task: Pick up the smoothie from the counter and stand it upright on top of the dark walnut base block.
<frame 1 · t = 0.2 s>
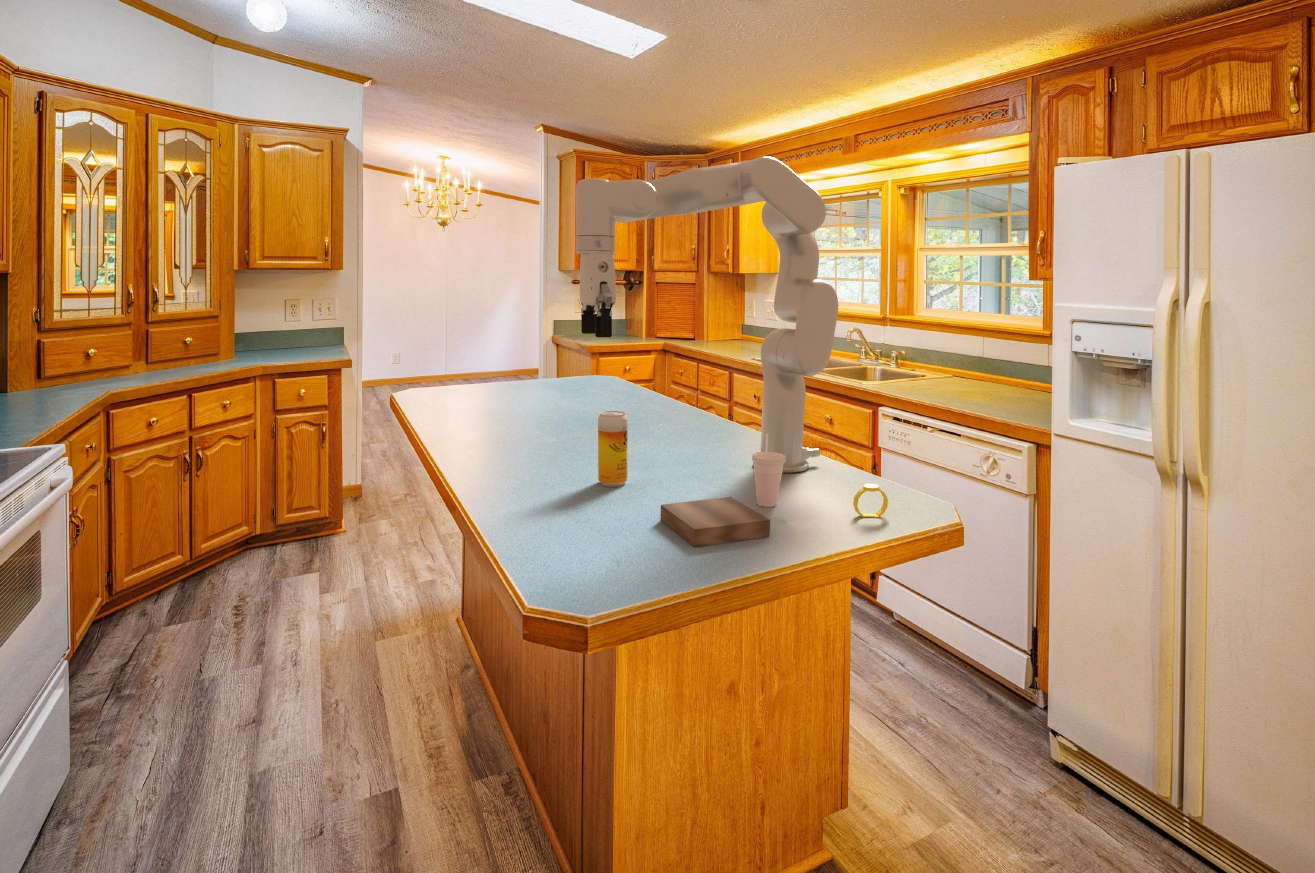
hand: (596, 335, 145), 31 cm above the table, tool pointing down, fingers open, 9 cm apart
beer can: (612, 484, 153), on the table
watch: (869, 517, 134), on the table
walnut base: (713, 528, 126), on the table
smoothie: (766, 505, 140), on the table
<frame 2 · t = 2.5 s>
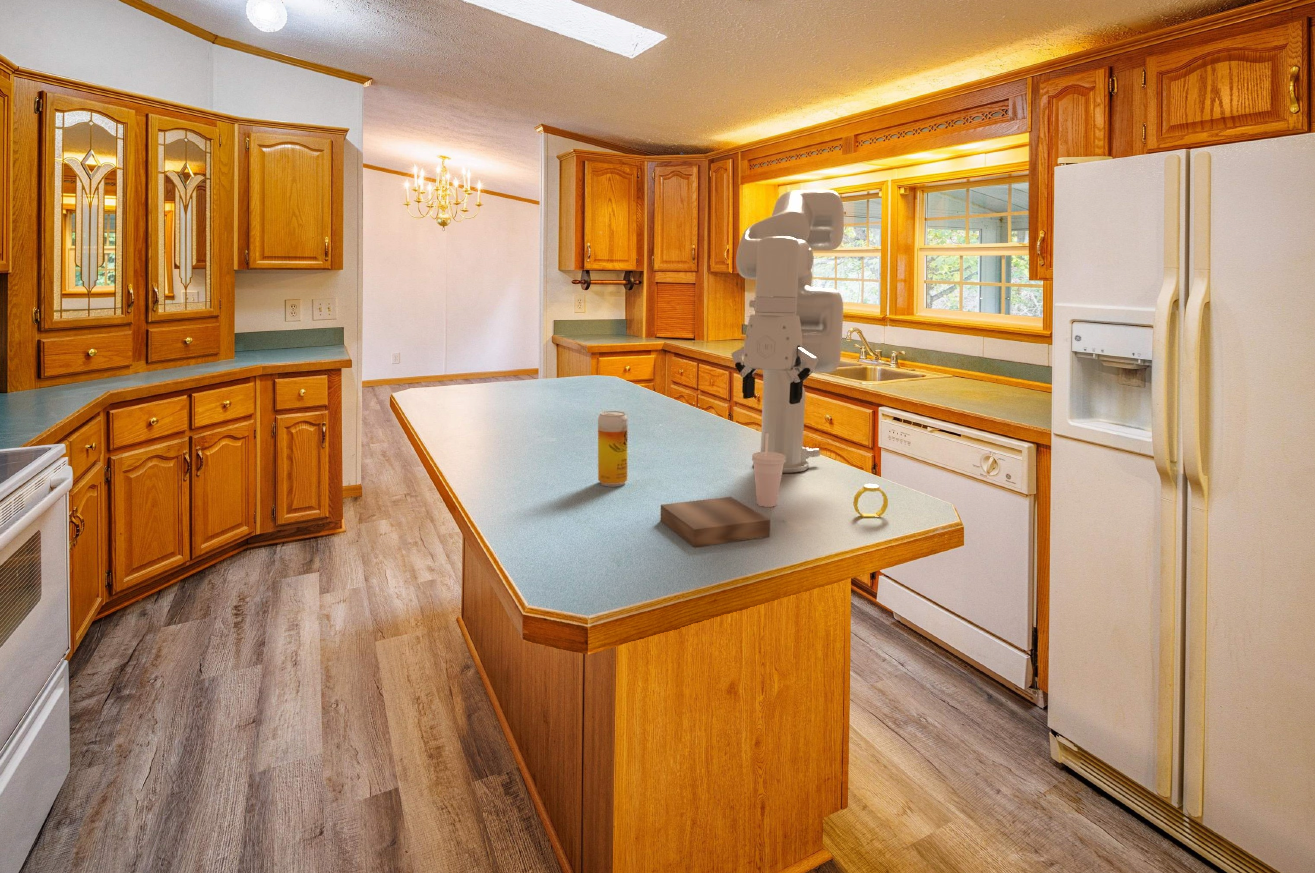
hand: (771, 400, 135), 20 cm above the table, tool pointing down, fingers open, 9 cm apart
nothing on the table moved.
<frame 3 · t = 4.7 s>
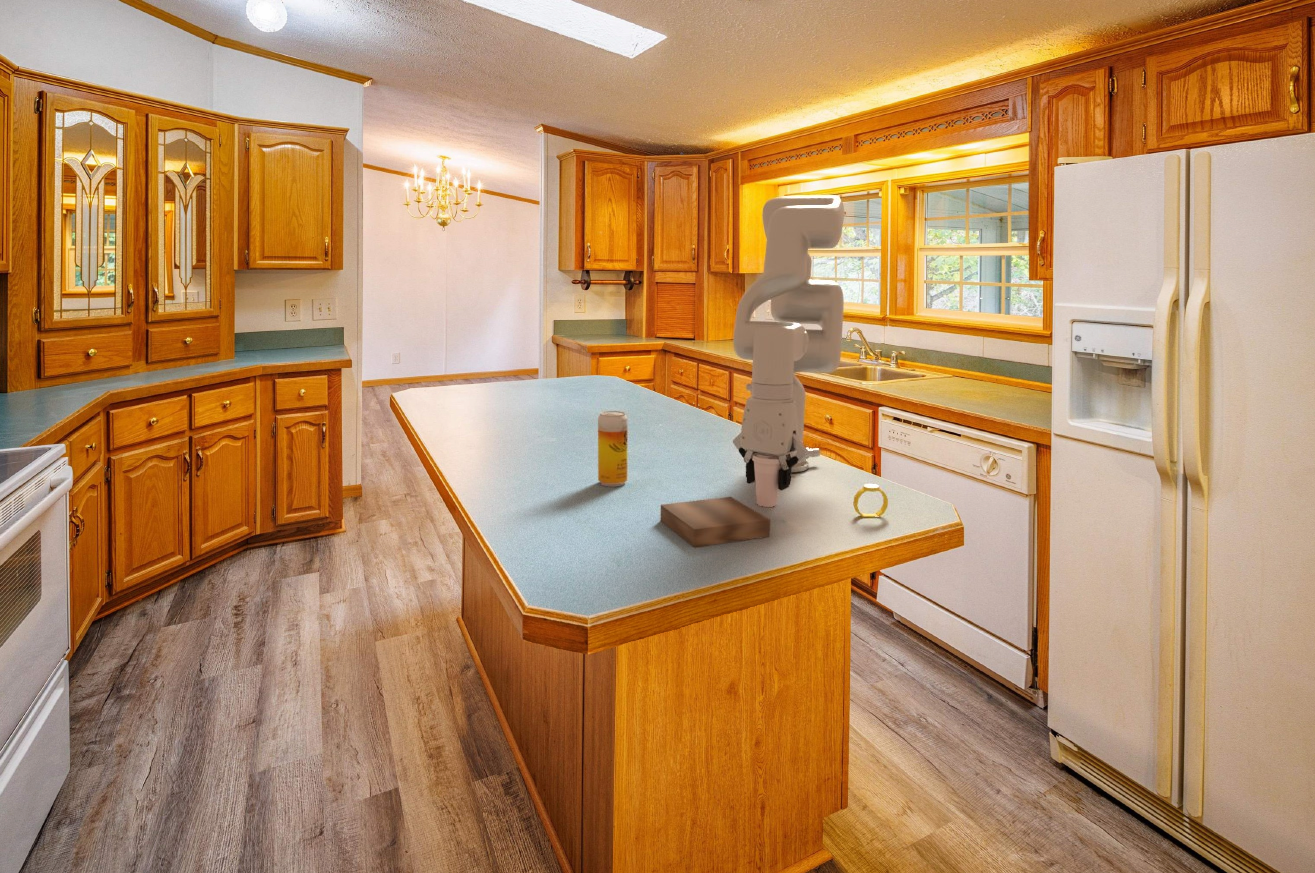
hand: (767, 484, 139), 4 cm above the table, tool pointing down, fingers closed on smoothie, 6 cm apart
smoothie: (766, 505, 140), on the table, touching gripper
everything else where it was.
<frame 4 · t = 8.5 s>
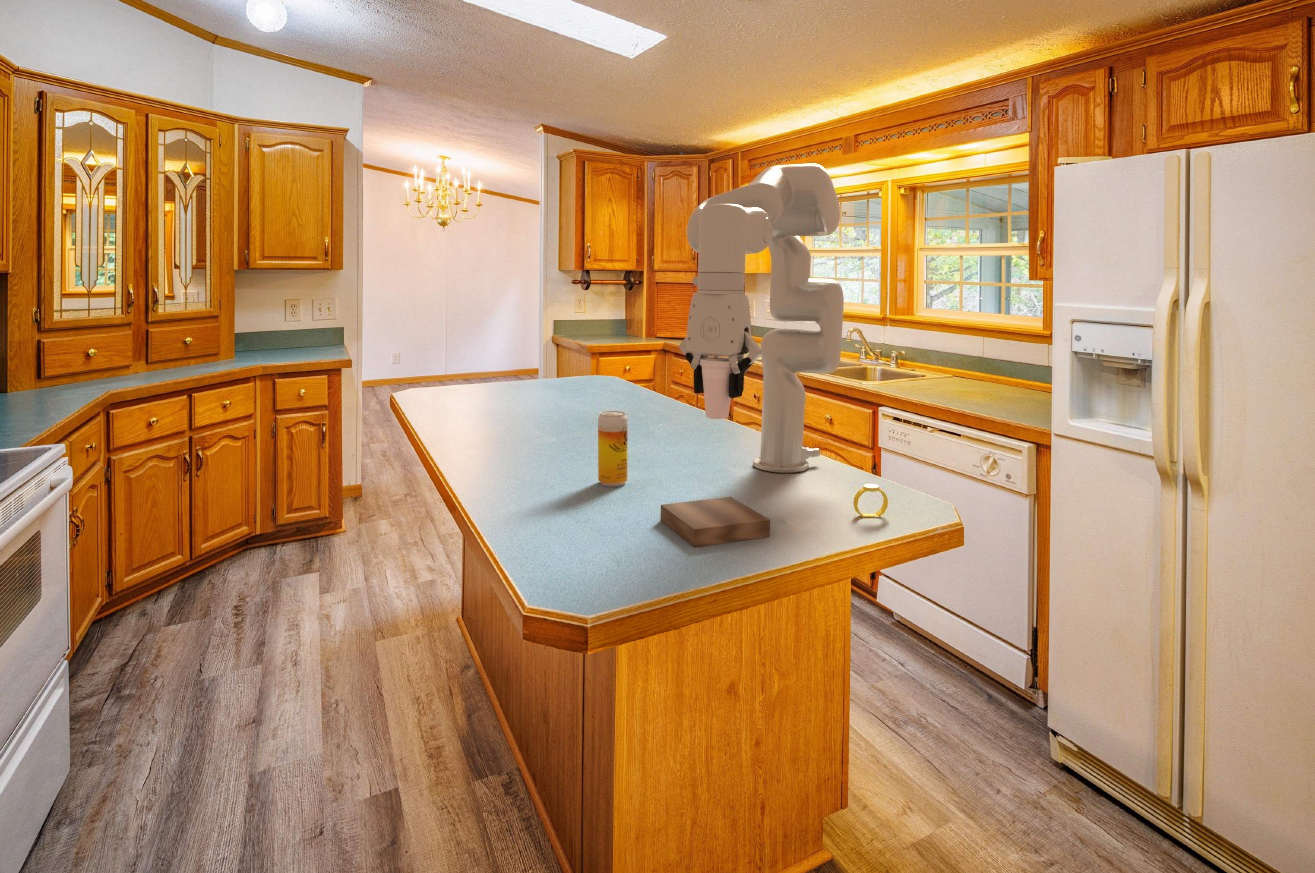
hand: (717, 393, 121), 24 cm above the table, tool pointing down, fingers closed on smoothie, 6 cm apart
smoothie: (717, 418, 122), point 19 cm above the table, touching gripper
everything else where it was.
when the fingers open (8 cm above the table, at t = 12.2 s): smoothie drops 1 cm, resting on walnut base.
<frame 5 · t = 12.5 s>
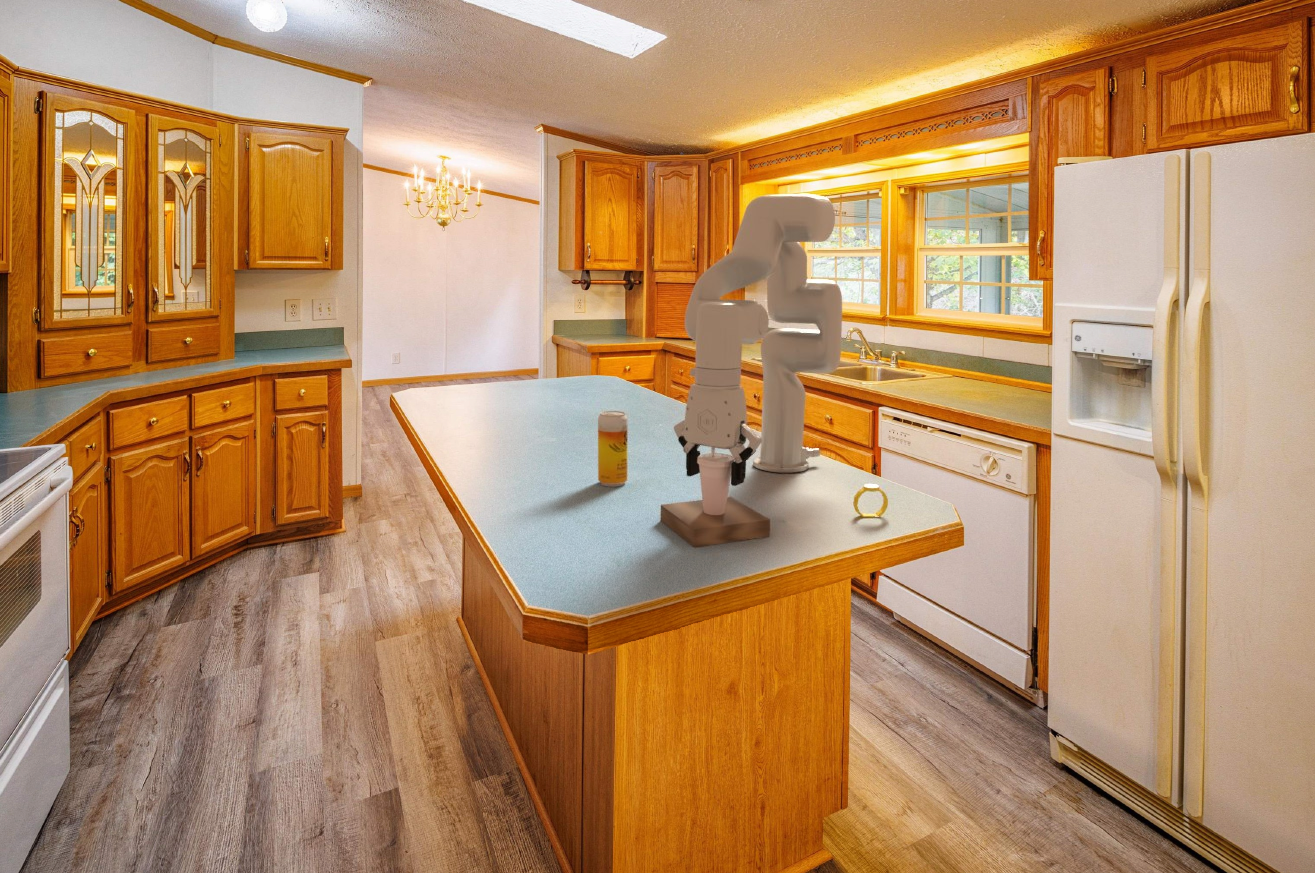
hand: (714, 478, 124), 9 cm above the table, tool pointing down, fingers open, 8 cm apart
smoothie: (714, 512, 125), point 3 cm above the table, touching walnut base
everything else where it was.
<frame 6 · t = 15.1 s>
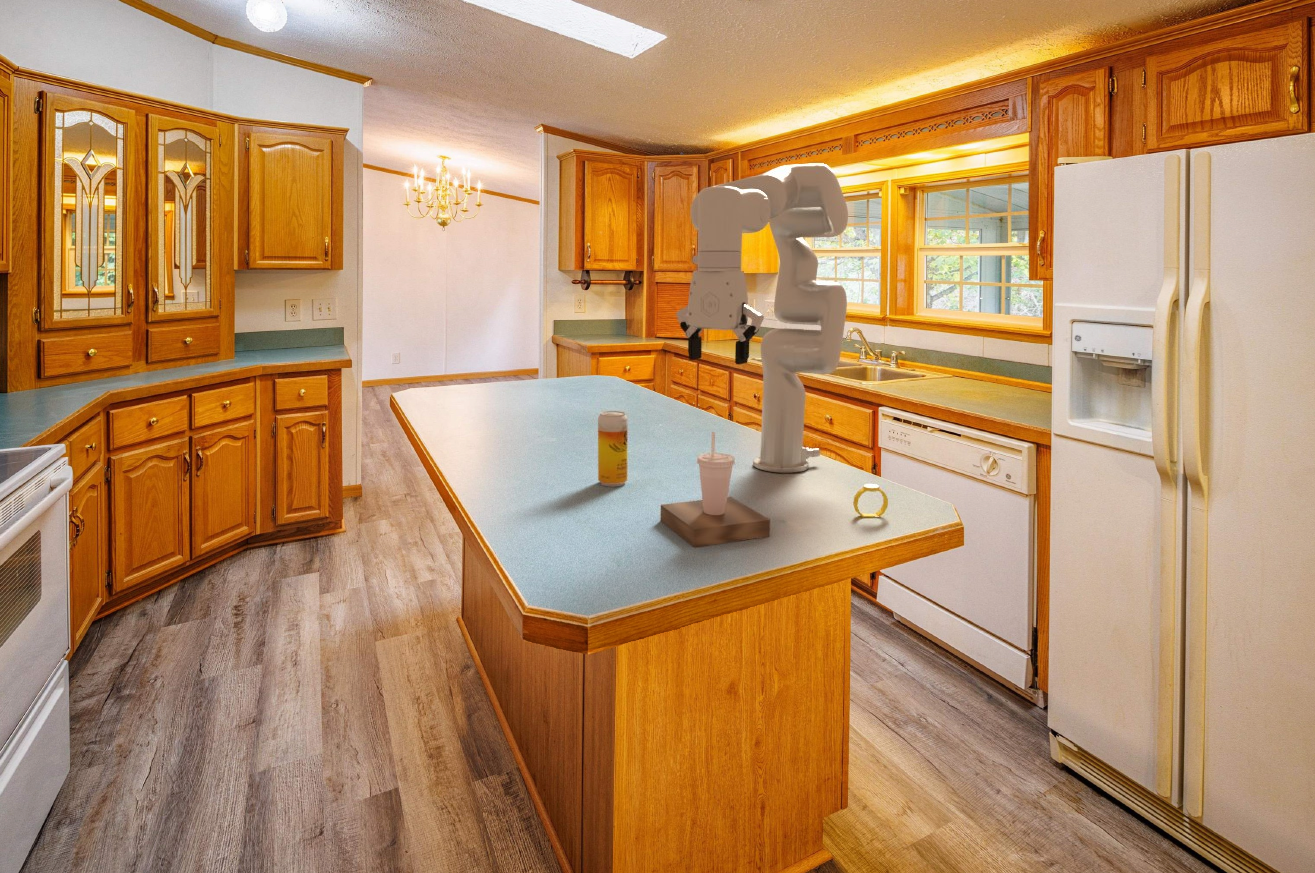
hand: (717, 361, 130), 28 cm above the table, tool pointing down, fingers open, 9 cm apart
nothing on the table moved.
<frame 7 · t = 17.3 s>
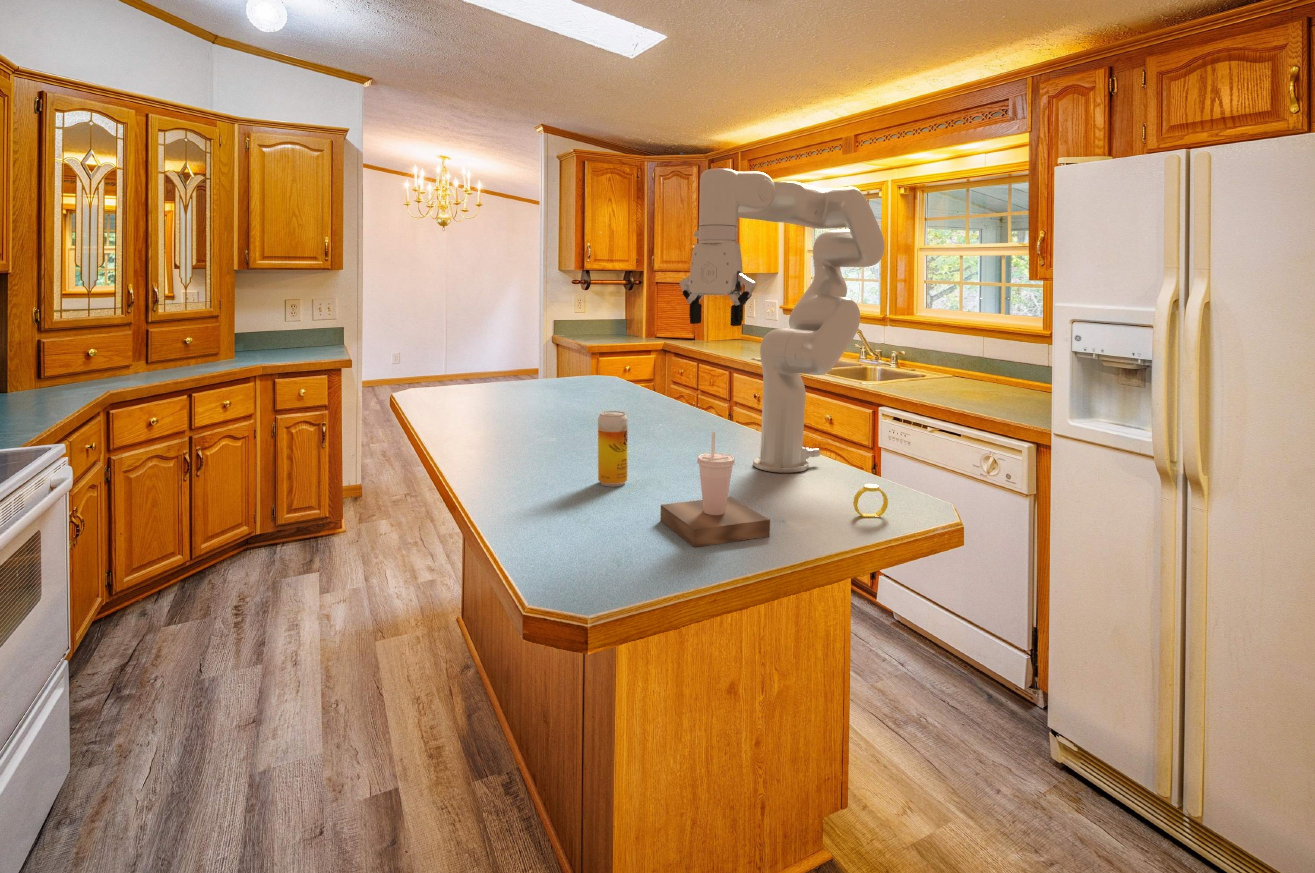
hand: (715, 324, 146), 33 cm above the table, tool pointing down, fingers open, 9 cm apart
nothing on the table moved.
at the end: smoothie inside the target area on the walnut base (0.1 cm from its centre), point 2.8 cm above the walnut base's base; smoothie tilted 1°; the gripper is holding nothing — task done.
